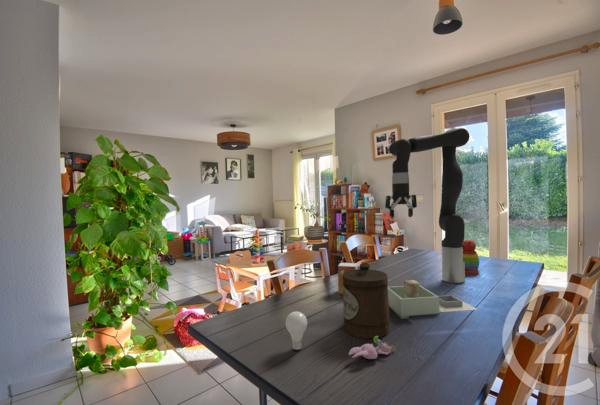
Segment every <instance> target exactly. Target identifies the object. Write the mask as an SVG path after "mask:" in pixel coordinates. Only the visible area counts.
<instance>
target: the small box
mask: <svg viewBox="0 0 600 405" xmlns="http://www.w3.org/2000/svg"><path fill="white" fill-rule="evenodd" d="M337 267H338V268H337V277H338V278H337V280H338V282H337V285H338V286H337V288H338V295H343V273H344V272H346V271H349V270H356V269H358V262H357V263H354V262H340V263H339V264H338V266H337Z"/></svg>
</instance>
